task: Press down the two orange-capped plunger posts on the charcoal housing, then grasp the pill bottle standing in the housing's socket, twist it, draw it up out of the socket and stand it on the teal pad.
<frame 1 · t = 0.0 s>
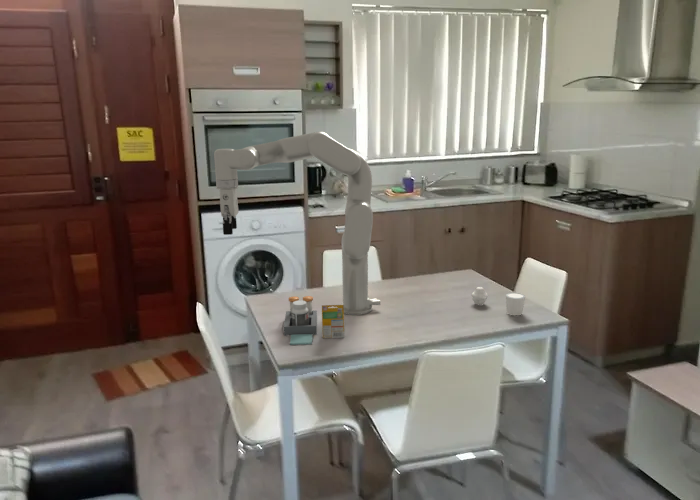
hand: (230, 231, 202), 31 cm above the table, tool pointing down, fingers open, 9 cm apart
housing: (301, 326, 196), on the table
plunger a: (308, 306, 199), point 5 cm above the table, slide at 0.0 cm
pad: (301, 340, 184), on the table
shot glass: (514, 314, 206), on the table
crayon box: (333, 337, 187), on the table
white rounded lump: (479, 304, 216), on the table
pill bottle: (300, 330, 193), resting in housing
plunger b: (294, 306, 199), point 5 cm above the table, slide at 0.0 cm
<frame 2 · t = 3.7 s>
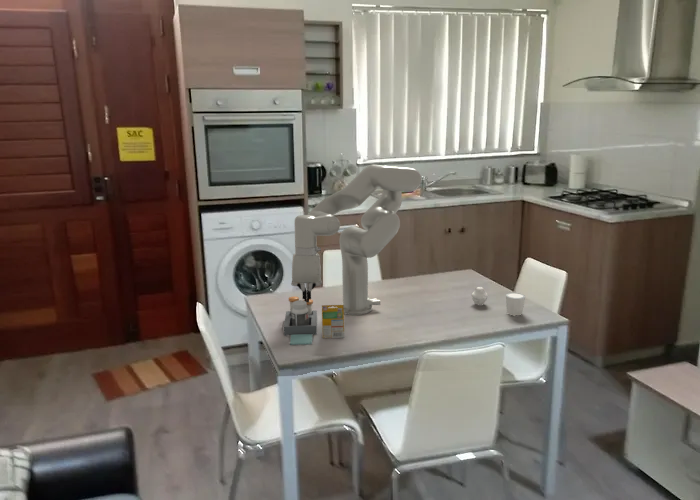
hand: (306, 300, 199), 8 cm above the table, tool pointing down, fingers closed
plunger a: (308, 309, 200), point 4 cm above the table, slide at 1.2 cm
everything else where it was.
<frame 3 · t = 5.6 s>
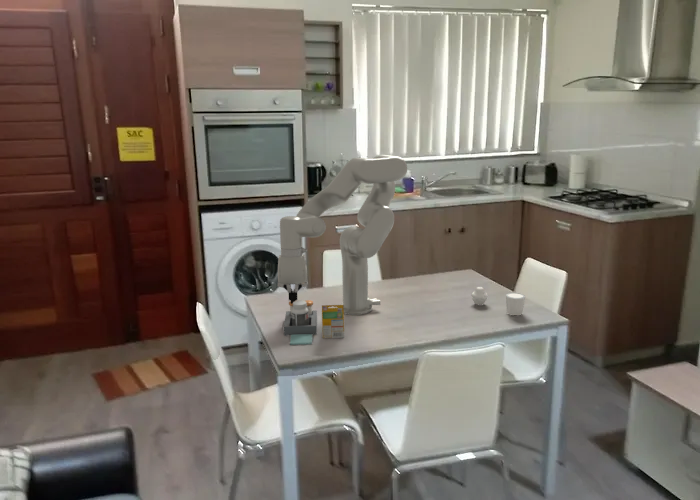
hand: (293, 302, 199), 7 cm above the table, tool pointing down, fingers closed
plunger a: (308, 310, 200), point 4 cm above the table, slide at 1.6 cm
plunger b: (294, 310, 200), point 4 cm above the table, slide at 1.5 cm
everything else where it was.
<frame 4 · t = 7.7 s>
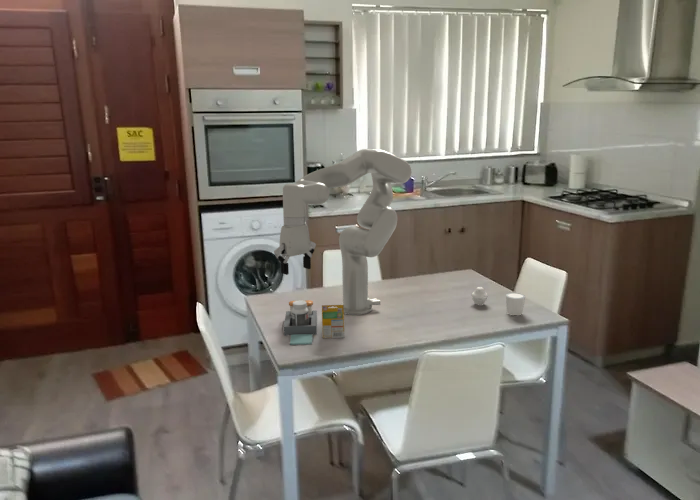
hand: (296, 271, 189), 21 cm above the table, tool pointing down, fingers open, 9 cm apart
nothing on the table moved.
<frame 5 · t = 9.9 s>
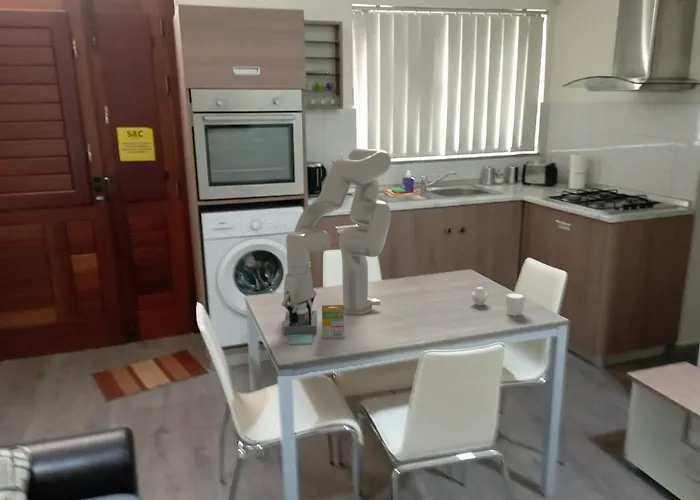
hand: (300, 319, 192), 4 cm above the table, tool pointing down, fingers closed on pill bottle, 5 cm apart
pill bottle: (300, 330, 193), resting in housing, touching gripper
everything else where it was.
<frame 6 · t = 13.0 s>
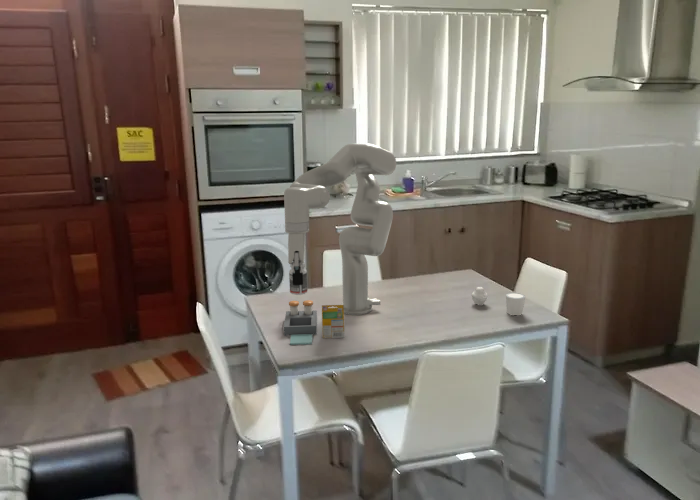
hand: (298, 281, 181), 20 cm above the table, tool pointing down, fingers closed on pill bottle, 5 cm apart
pill bottle: (298, 293, 182), point 16 cm above the table, touching gripper
everything else where it was.
when the fingers open (5 cm above the table, at t = 16.2 s): pill bottle drops 1 cm, resting on pad.
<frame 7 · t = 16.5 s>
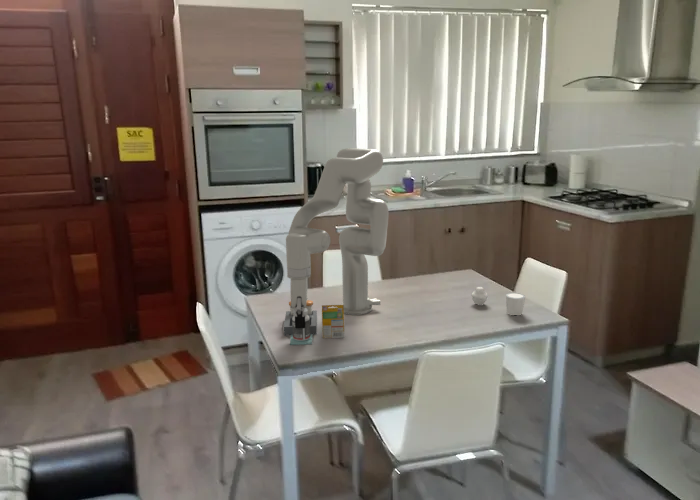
hand: (300, 322, 183), 6 cm above the table, tool pointing down, fingers open, 8 cm apart
pill bottle: (301, 338, 184), resting on pad
everything else where it was.
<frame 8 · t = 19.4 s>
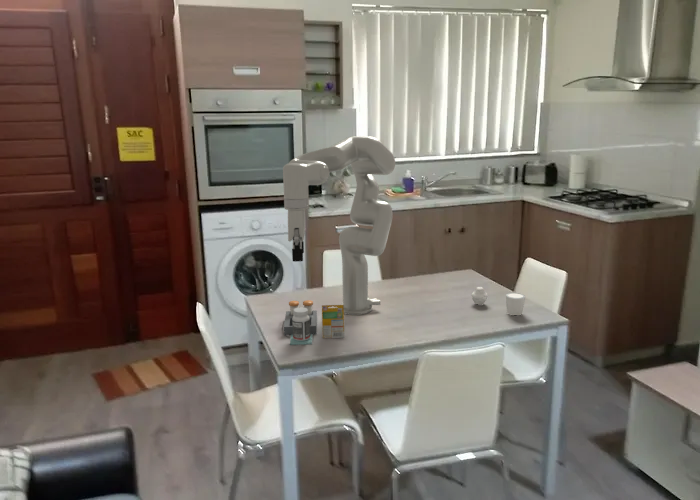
hand: (298, 257, 177), 28 cm above the table, tool pointing down, fingers open, 9 cm apart
nothing on the table moved.
at the end: pill bottle inside the target area on the pad (0.2 cm from its centre), point 0.4 cm above the pad's base; pill bottle tilted 0°; plunger b slide at 1.6 cm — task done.
